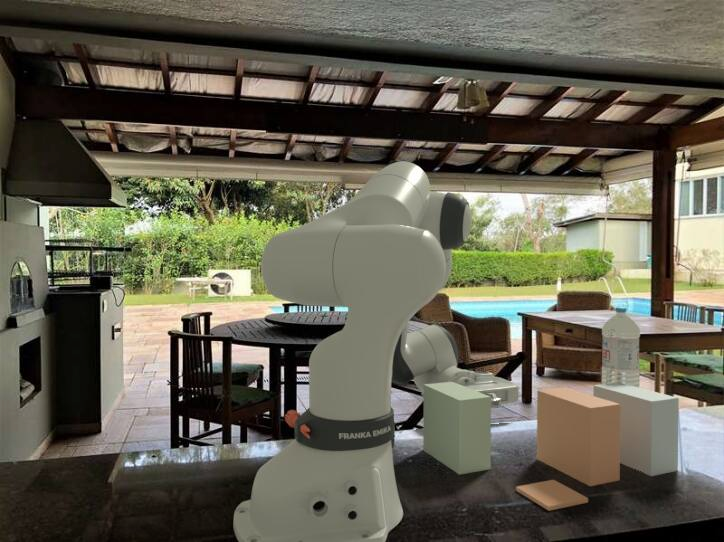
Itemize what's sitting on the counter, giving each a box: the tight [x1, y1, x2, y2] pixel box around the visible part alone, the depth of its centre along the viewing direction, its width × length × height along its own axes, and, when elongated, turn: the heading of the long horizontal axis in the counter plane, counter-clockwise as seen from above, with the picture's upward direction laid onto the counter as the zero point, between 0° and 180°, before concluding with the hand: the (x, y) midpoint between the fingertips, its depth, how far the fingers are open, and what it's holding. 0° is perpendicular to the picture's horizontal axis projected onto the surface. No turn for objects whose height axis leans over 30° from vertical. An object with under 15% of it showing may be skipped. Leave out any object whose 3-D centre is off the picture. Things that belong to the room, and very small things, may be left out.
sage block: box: [422, 382, 492, 475], centre depth 93 cm, size 6×12×12 cm, turn 22°
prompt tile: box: [515, 479, 589, 512], centre depth 78 cm, size 7×7×1 cm
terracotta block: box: [536, 387, 621, 487], centre depth 89 cm, size 6×12×12 cm, turn 22°
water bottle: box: [601, 306, 641, 388], centre depth 107 cm, size 7×7×25 cm
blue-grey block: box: [592, 382, 680, 477], centre depth 92 cm, size 6×12×12 cm, turn 22°
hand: (495, 404), depth 109 cm, fingers closed
